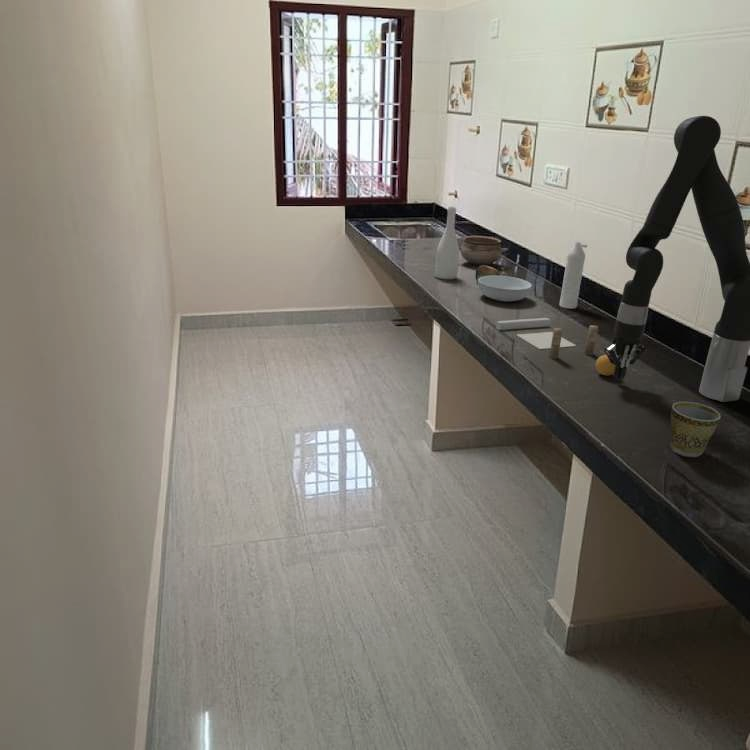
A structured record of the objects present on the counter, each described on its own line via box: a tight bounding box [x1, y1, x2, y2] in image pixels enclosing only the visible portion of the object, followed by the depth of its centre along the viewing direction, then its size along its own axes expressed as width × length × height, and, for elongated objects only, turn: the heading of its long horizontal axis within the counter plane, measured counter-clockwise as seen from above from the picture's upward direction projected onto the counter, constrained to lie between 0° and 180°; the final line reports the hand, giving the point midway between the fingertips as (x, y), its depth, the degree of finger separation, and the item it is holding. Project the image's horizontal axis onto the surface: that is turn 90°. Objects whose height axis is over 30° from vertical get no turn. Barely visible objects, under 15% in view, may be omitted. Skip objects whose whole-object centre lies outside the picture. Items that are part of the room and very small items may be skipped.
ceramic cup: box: [669, 401, 721, 458], centre depth 152 cm, size 13×10×10 cm
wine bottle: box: [434, 206, 460, 281], centre depth 287 cm, size 10×10×30 cm
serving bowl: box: [477, 275, 533, 303], centre depth 264 cm, size 21×21×7 cm
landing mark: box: [516, 331, 577, 350], centre depth 220 cm, size 14×14×1 cm
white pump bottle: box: [559, 241, 588, 310], centre depth 254 cm, size 9×6×25 cm
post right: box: [584, 324, 599, 356], centre depth 209 cm, size 3×3×9 cm
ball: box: [595, 354, 615, 376], centre depth 193 cm, size 6×6×6 cm
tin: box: [475, 265, 501, 284], centre depth 280 cm, size 15×3×8 cm, turn 25°
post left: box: [548, 327, 563, 360], centre depth 204 cm, size 3×3×9 cm
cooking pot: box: [458, 235, 509, 268], centre depth 316 cm, size 25×19×12 cm
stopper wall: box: [495, 317, 551, 331], centre depth 232 cm, size 2×20×2 cm, turn 111°
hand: (618, 378), depth 188 cm, fingers closed
